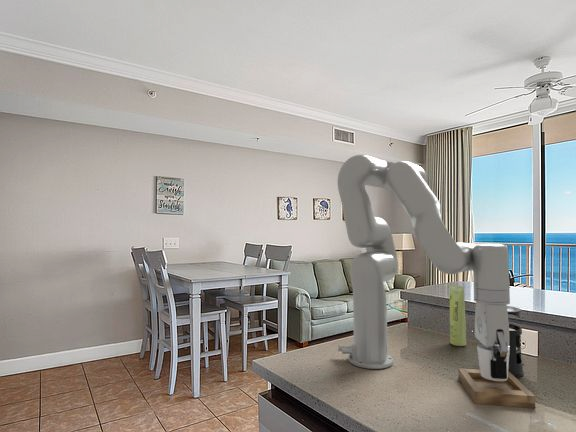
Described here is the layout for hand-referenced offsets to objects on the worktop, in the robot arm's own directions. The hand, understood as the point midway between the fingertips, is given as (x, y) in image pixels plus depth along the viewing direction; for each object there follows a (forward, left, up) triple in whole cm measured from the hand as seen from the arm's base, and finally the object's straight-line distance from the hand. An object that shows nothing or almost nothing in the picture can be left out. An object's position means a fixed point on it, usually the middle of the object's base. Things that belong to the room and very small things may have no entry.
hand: (493, 371), depth 88 cm
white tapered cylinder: (0, 0, -1) cm, 1 cm away
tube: (+1, +37, -5) cm, 37 cm away
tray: (0, 0, -5) cm, 5 cm away
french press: (+7, +15, -5) cm, 17 cm away
